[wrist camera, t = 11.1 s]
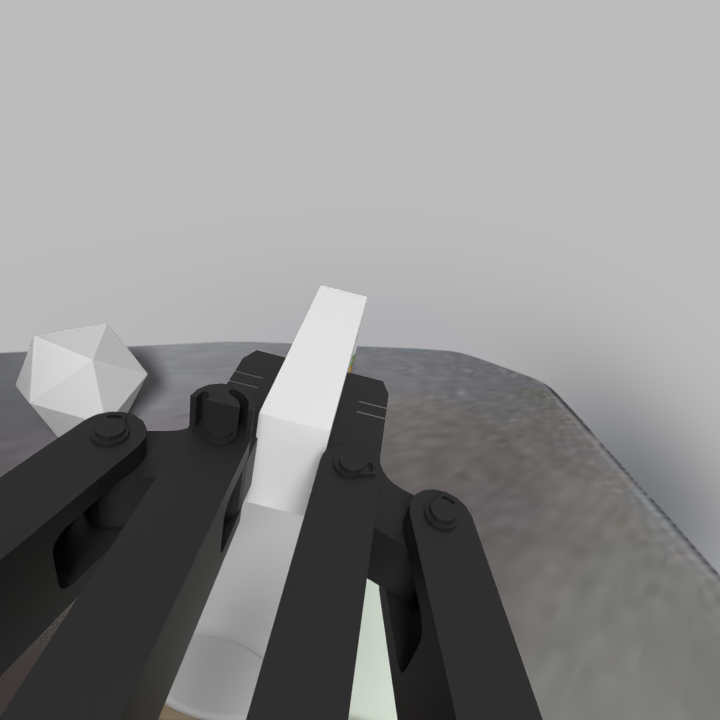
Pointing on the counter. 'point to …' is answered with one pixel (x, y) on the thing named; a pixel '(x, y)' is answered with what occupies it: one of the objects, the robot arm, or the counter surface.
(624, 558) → the counter surface
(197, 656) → the pill bottle
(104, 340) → the die
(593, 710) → the counter surface
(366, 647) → the mat
